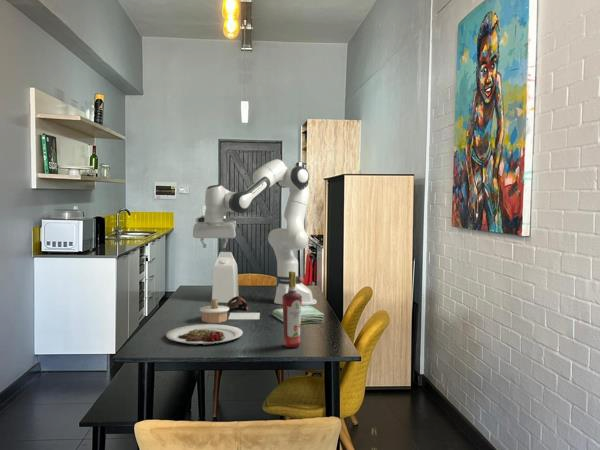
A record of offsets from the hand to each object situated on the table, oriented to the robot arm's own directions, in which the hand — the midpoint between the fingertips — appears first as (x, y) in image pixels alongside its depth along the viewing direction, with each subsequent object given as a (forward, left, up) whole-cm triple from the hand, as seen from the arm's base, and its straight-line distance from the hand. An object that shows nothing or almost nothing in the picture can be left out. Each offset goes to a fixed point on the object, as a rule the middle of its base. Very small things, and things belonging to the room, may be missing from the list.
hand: (214, 247), depth 270 cm
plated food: (-1, +48, -32) cm, 57 cm away
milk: (-3, -30, -31) cm, 44 cm away
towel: (-40, +17, -32) cm, 54 cm away
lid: (-2, +20, -26) cm, 33 cm away
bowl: (-2, +20, -31) cm, 37 cm away
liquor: (-35, +63, -31) cm, 79 cm away
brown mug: (-12, -3, -31) cm, 34 cm away
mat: (-15, +12, -31) cm, 37 cm away
